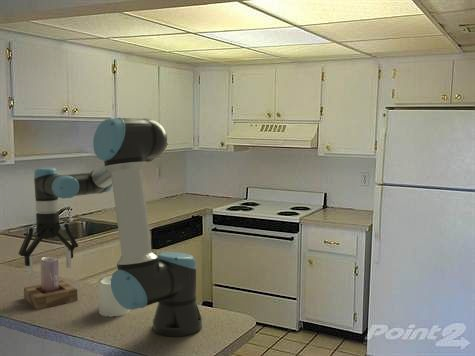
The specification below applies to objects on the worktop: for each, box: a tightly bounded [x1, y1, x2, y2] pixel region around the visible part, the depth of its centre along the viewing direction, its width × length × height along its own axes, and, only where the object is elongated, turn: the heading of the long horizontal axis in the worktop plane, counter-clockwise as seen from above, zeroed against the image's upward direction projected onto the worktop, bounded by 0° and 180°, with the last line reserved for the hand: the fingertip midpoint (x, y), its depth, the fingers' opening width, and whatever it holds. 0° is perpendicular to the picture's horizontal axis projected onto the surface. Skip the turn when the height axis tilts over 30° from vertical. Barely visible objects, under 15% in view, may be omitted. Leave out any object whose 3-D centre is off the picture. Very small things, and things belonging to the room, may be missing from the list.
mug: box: [97, 275, 131, 318], centre depth 174 cm, size 14×10×11 cm
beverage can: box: [39, 256, 60, 294], centre depth 183 cm, size 6×6×15 cm
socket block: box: [23, 279, 78, 310], centre depth 184 cm, size 14×14×4 cm
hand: (50, 271), depth 182 cm, fingers open, 13 cm apart
